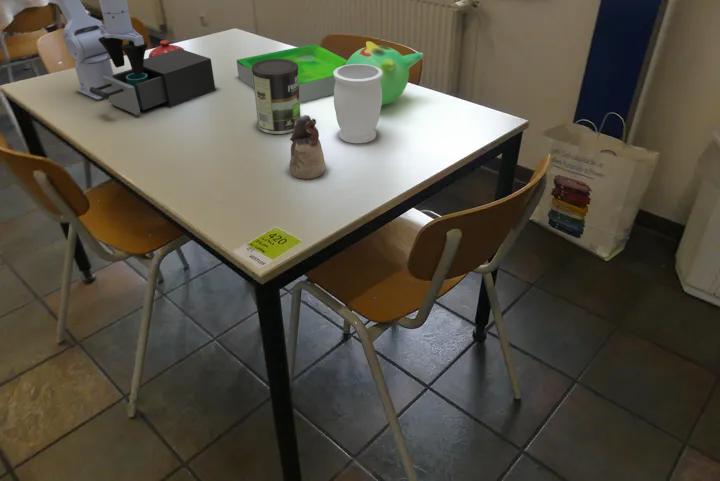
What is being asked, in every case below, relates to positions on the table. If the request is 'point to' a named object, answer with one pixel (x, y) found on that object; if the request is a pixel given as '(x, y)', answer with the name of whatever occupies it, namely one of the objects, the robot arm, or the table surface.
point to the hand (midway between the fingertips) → (129, 69)
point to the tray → (301, 69)
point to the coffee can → (276, 95)
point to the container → (136, 80)
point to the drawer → (132, 91)
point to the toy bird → (387, 67)
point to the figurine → (306, 150)
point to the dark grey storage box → (182, 74)
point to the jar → (357, 101)
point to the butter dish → (163, 48)
